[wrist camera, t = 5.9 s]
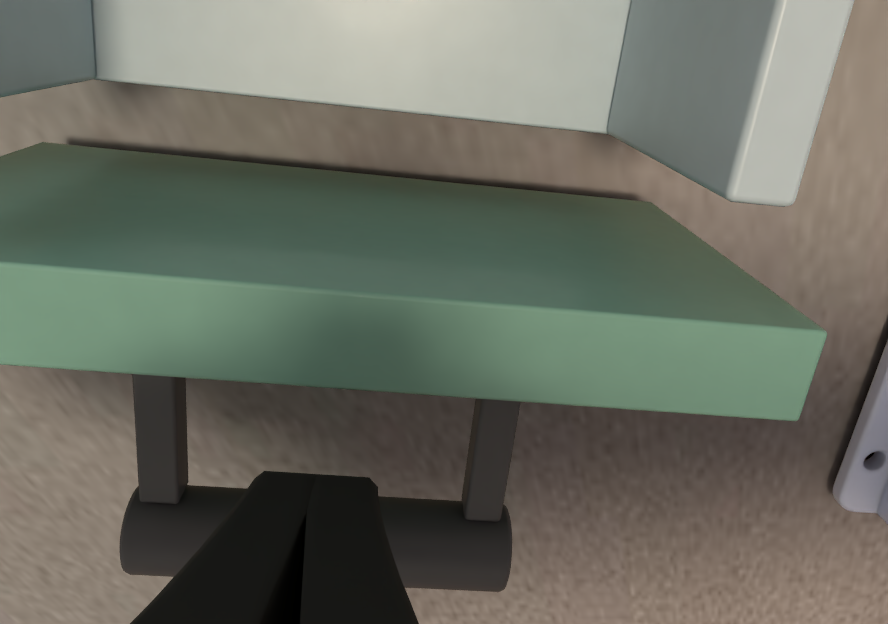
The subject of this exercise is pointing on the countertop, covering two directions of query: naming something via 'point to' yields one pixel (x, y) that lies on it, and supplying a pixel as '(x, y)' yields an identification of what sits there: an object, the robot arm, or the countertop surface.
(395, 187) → the drawer
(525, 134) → the countertop surface
